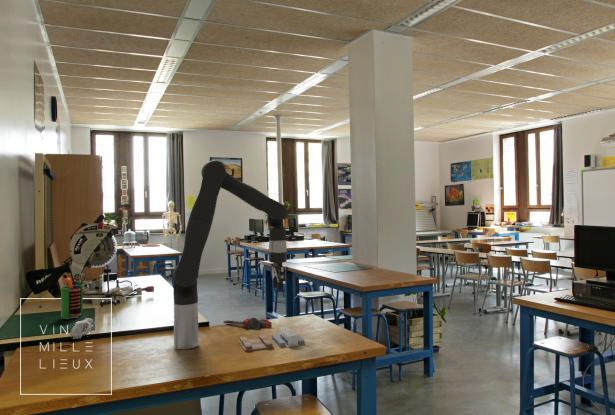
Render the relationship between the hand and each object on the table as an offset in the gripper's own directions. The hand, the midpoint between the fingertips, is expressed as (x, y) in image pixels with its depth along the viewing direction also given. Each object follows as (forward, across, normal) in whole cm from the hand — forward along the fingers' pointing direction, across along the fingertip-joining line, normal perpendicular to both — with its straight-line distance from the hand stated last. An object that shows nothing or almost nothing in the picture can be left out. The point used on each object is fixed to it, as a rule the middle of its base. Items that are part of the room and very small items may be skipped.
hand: (278, 289), depth 192 cm
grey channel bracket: (+20, +14, 0) cm, 24 cm away
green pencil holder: (+20, -69, -89) cm, 114 cm away
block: (+18, +14, 0) cm, 23 cm away
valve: (+20, -20, -8) cm, 30 cm away
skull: (+20, -30, -79) cm, 87 cm away
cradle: (+20, +14, -13) cm, 27 cm away
